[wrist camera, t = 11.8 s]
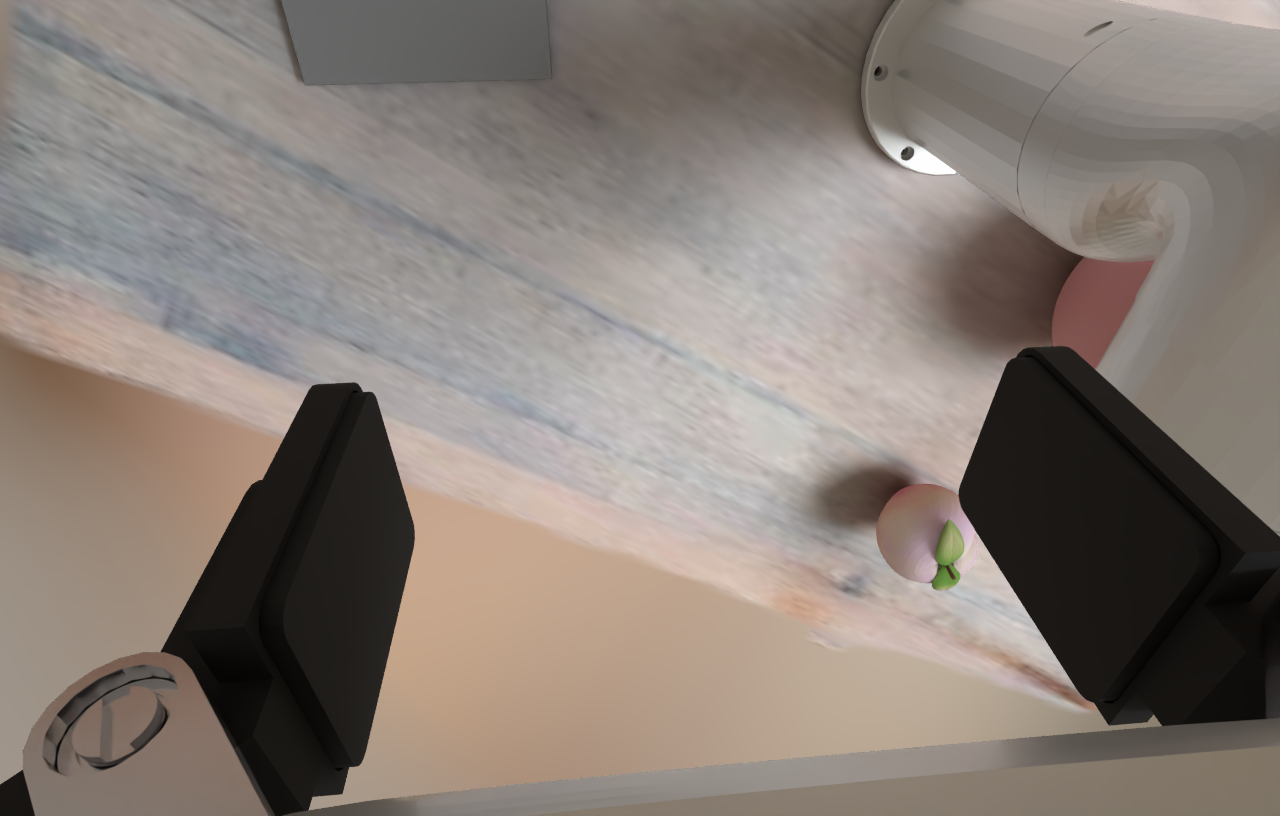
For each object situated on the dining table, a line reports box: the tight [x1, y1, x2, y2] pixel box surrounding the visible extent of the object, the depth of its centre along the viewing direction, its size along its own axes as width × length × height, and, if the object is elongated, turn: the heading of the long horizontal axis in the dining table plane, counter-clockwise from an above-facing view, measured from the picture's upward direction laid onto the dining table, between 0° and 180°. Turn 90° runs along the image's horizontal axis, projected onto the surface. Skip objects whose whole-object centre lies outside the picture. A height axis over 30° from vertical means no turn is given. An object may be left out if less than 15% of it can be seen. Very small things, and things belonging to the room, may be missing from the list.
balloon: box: [1052, 257, 1155, 369], centre depth 47 cm, size 15×20×15 cm
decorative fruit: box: [876, 484, 978, 590], centre depth 61 cm, size 9×8×10 cm
